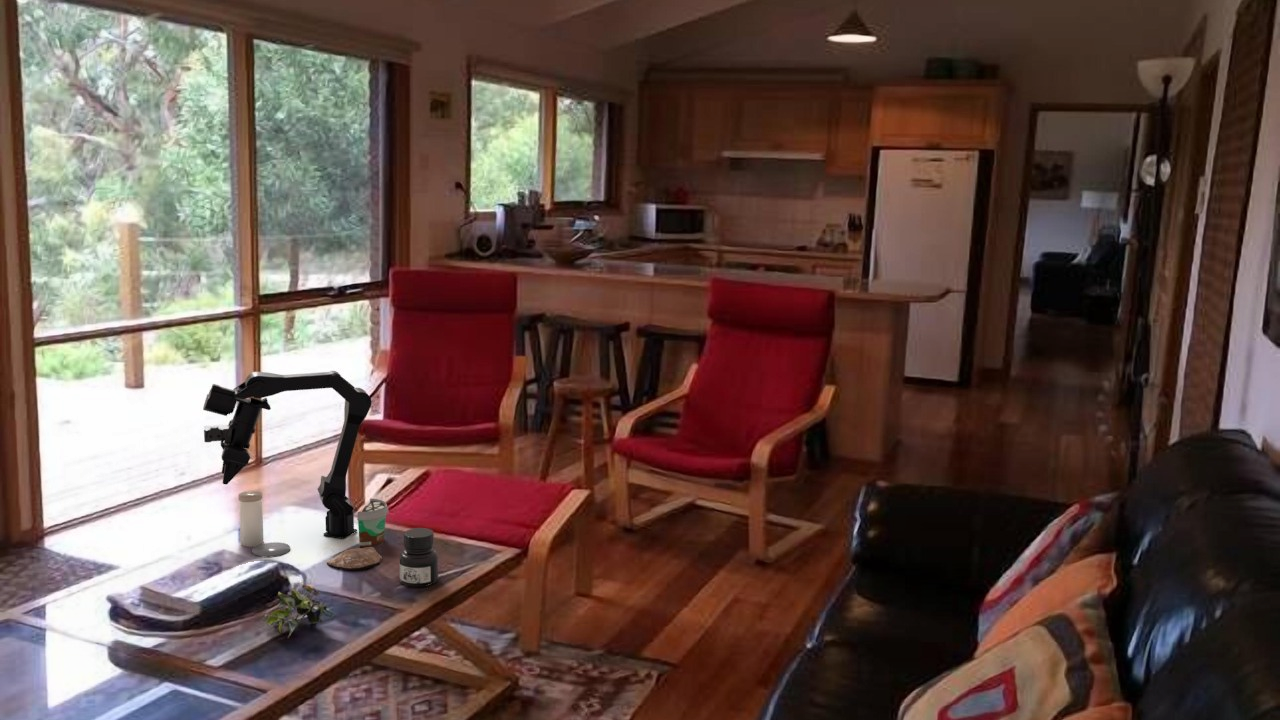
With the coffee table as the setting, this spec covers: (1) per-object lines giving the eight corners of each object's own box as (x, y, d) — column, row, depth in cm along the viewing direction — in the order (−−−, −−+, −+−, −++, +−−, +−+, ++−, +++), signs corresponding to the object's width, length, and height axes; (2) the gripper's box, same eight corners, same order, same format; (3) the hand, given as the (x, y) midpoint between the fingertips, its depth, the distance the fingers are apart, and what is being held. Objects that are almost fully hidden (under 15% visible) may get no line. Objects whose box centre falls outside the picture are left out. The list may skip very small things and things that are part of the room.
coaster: (297, 547, 264) (297, 545, 264) (275, 558, 255) (275, 557, 255) (267, 542, 267) (267, 540, 266) (244, 554, 258) (244, 552, 258)
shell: (393, 562, 257) (393, 548, 256) (351, 577, 247) (351, 562, 246) (363, 551, 264) (363, 537, 263) (321, 565, 254) (321, 551, 253)
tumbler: (268, 540, 268) (267, 492, 266) (254, 547, 263) (252, 498, 260) (250, 537, 270) (248, 489, 267) (235, 544, 264) (233, 495, 262)
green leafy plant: (312, 647, 221) (345, 605, 219) (285, 661, 210) (319, 616, 209) (275, 612, 223) (307, 570, 221) (246, 624, 212) (280, 579, 211)
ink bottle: (390, 584, 242) (390, 535, 240) (412, 571, 250) (411, 523, 248) (426, 591, 239) (426, 541, 237) (446, 578, 247) (446, 530, 245)
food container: (381, 551, 263) (381, 513, 261) (357, 550, 263) (357, 512, 261) (394, 534, 275) (393, 498, 273) (371, 533, 275) (370, 497, 274)
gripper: (211, 403, 265) (191, 460, 265) (212, 420, 248) (190, 481, 248) (255, 415, 269) (235, 471, 270) (259, 433, 252) (237, 492, 253)
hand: (224, 478), depth 260 cm, fingers open, 9 cm apart
